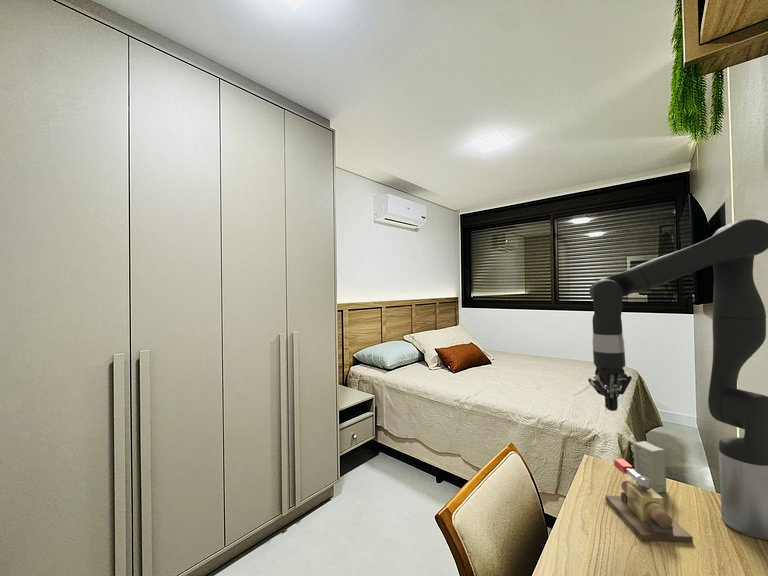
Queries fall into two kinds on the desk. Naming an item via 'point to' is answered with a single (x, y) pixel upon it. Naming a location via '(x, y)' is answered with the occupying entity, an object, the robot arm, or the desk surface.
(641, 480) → the valve lever
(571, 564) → the desk surface
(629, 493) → the valve rig
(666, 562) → the desk surface
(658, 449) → the skincare box
